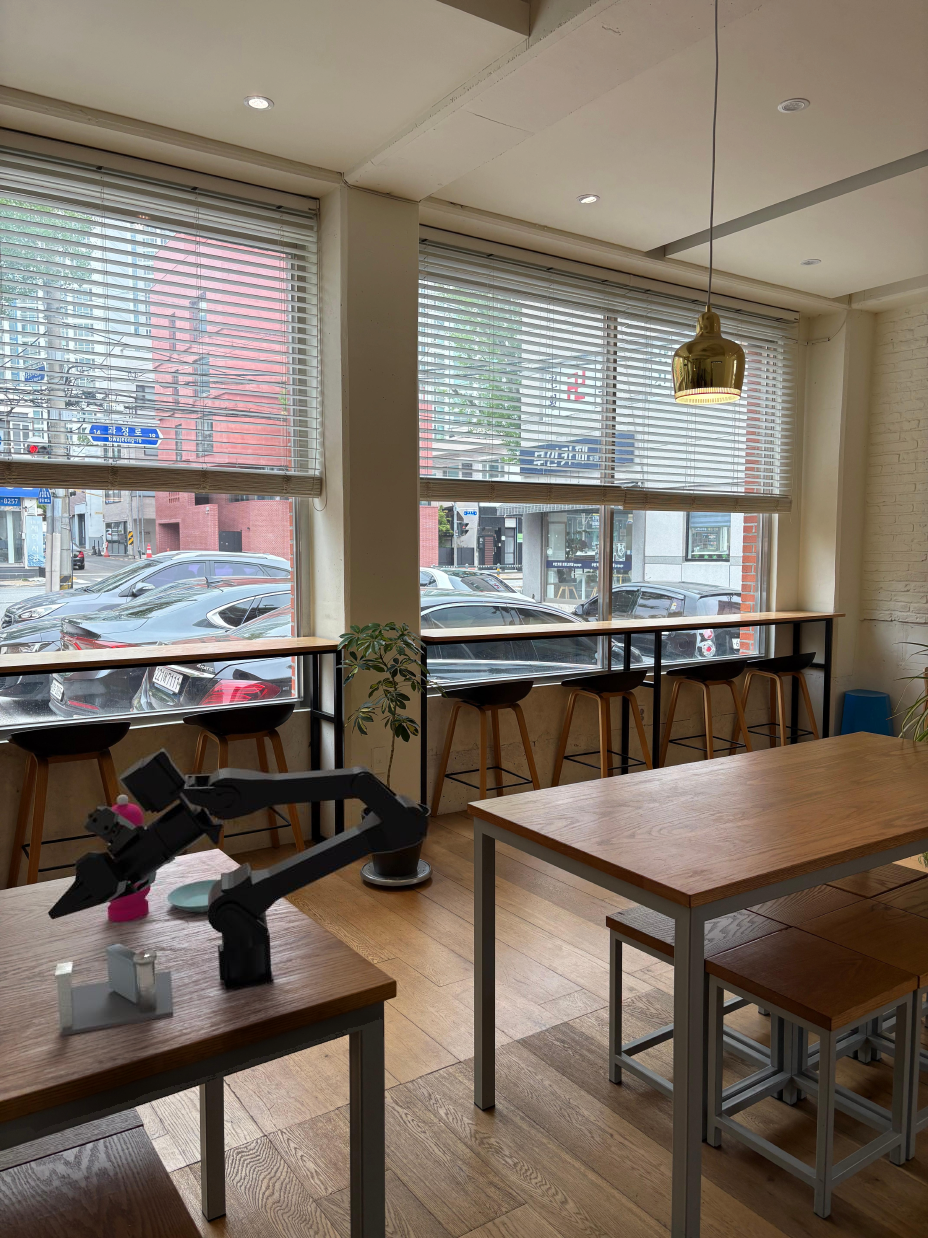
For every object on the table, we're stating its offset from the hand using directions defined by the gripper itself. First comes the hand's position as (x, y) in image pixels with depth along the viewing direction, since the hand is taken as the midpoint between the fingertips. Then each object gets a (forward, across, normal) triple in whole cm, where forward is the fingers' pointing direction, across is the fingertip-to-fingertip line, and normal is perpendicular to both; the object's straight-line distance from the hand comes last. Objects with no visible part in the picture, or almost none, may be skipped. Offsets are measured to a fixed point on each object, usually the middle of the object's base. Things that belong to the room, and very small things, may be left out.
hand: (63, 912), depth 117 cm
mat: (+1, -2, +14) cm, 14 cm away
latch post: (+6, +3, +12) cm, 14 cm away
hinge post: (-2, 0, +17) cm, 17 cm away
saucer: (-7, -34, +9) cm, 36 cm away
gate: (0, -3, +13) cm, 14 cm away
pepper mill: (+3, -32, +3) cm, 32 cm away
